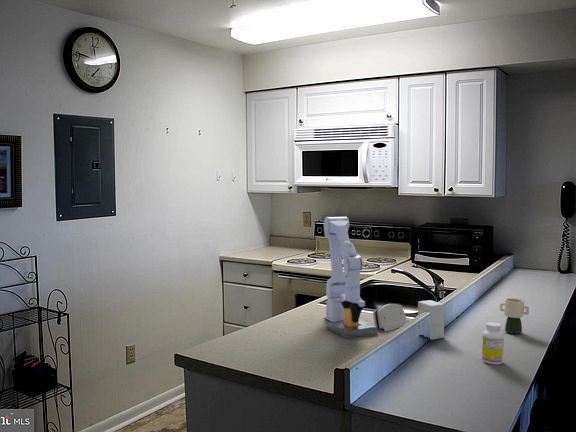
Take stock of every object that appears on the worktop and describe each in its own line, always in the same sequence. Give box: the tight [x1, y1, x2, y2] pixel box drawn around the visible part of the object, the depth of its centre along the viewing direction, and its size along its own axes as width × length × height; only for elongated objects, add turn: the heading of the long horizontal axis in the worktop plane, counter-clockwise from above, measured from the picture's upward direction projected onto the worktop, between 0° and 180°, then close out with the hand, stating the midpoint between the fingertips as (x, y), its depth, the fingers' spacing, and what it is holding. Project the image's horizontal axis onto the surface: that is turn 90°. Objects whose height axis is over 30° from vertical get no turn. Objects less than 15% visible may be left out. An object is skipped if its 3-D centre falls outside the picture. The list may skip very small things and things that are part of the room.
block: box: [344, 308, 358, 327], centre depth 218 cm, size 4×4×7 cm
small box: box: [417, 299, 445, 340], centre depth 212 cm, size 8×6×13 cm
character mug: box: [499, 297, 530, 334], centre depth 216 cm, size 11×7×13 cm, turn 52°
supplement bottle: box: [481, 321, 505, 366], centre depth 183 cm, size 7×7×13 cm
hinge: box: [372, 303, 410, 332], centre depth 226 cm, size 17×5×10 cm, turn 131°
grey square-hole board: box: [327, 318, 378, 340], centre depth 218 cm, size 14×14×3 cm
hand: (352, 320), depth 218 cm, fingers closed on block, 4 cm apart
